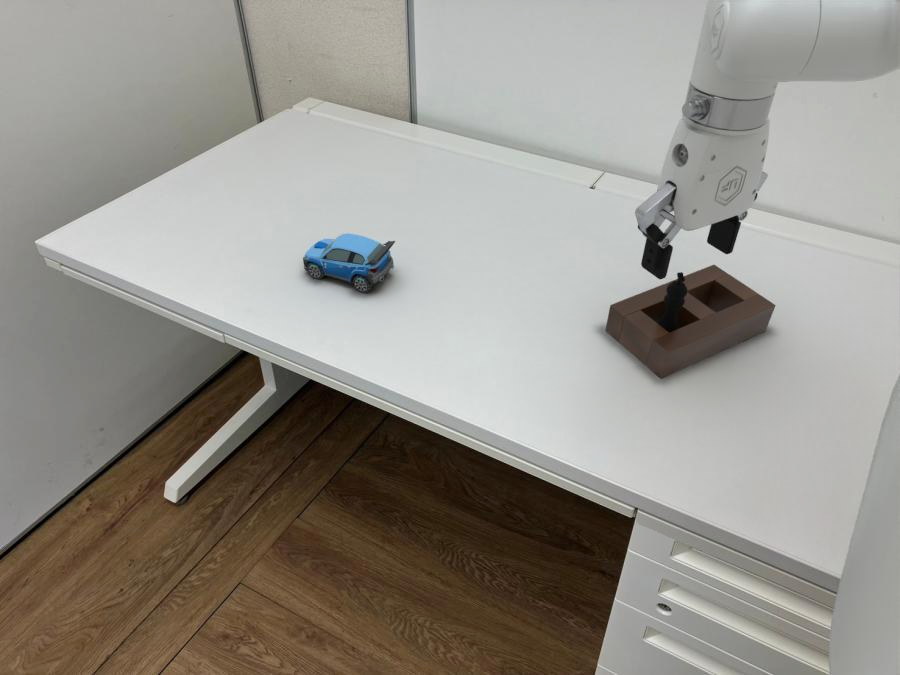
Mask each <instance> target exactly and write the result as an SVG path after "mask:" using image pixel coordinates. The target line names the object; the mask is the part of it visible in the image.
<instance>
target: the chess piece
mask: <svg viewBox="0 0 900 675" xmlns="http://www.w3.org/2000/svg"><path fill="white" fill-rule="evenodd" d="M676 276H677V279H678V281H673V280H672V281H673V282H672V283H670V284H669V285H668V286H667V289H666V291H667V294H666V295H665V297H664V303H665V306H666V310H665V313H664V315H663V316H662V318H661V319H659V320H658V321H657V324H659V325H660V326H661V327H662V328H664V329H665V330H666V331H667V332H669V333H670V332H672V331H675V330H677V329H679V327H678V323H677V319H676V316H677V312H678V310H679V309H680V308H681V307H682V306H683V305H684V303H685V299H684V297H685V296H686V295H687V287H686V286H685V284H684V283H683V282H684V281H685V278H684V276H685V275H684V272H682V271H681V272H677V273H676ZM681 281H682V282H681Z"/></svg>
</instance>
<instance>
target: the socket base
mask: <svg viewBox="0 0 900 675" xmlns="http://www.w3.org/2000/svg"><path fill="white" fill-rule="evenodd" d="M683 276H684V278H685V281H684V282H683V283H684V284H685V286H686V287H687V295H686V296H685V297H684V299H685V303H684V305H683V306H682V307H681V308H680V309H679V310H678V312H677V316H676V319H677V323H678V327H679V329H677V330H675V331H672V332H670V333H669V332H667V331H666V330H665V329H664V328H662V327H661V326H660V325H659V324H657V321H658V320H659V319H661V318H662V316H663V315H664V313H665V310H666V306H665V303H664V297H665V295H666V294H667V291H666V289H667V286H668V285H669V284H670V283H672V282H673V281H678V278H676V279H673V280H671V281H668V282H666V283H663V284H660V285H657V286H655V287H652V288H650V289H648V290H645V291H643V292H640V293H638V294H635V295H632V296H630V297H627V298H625V299H622V300H619V301H617V302H614V303H612V304H610V305H609V311H608V315H607V320H606V325H605V332H606V333H607V334H609V335H610V336H611V337H612V338H613V339H614V340H616V341H617V343H619V344H620V345H621V346H623V347H624V348H625V350H627V351H628V352H629V353H631V354H632V355H633V356H634V357H635V358H636V359H637V360H639V361H640V362H641V363H642V364H644V366H646V367H647V369H649V370H650V371H652V372H653V373H654V375H656V376H657V377H658V378H660V379H661V380H662V379H665V378H666V377H668V376H671V375H673V374H674V373H677V372H679V371H682V370H684V369H686V368H688V367H691V366H692V365H694V364H697V363H699V362H701V361H703V360H705V359H708V358H710V357H712V356H714V355H716V354H718V353H721V352H724V351H725V350H727V349H729V348H731V347H734V346H735V345H738V344H741V343H742V342H744V341H747V340H749V339H750V338H751V339H752V338H754V337H756V336H757V335H759V334H762V333H764V332H766V331H767V328H768V326H769V324H770V321H771V319H772V316H773V314H774V311H775V308H776V304H775V303H773V302H772V301H770V300H769V299H767V298H766V297H764V296H762V294H759V293H758V292H756V291H755V290H754V289H753V288H751V287H749V286H747V285H746V284H745V283H743V282H741V281H740V280H739V279H737V278H736V277H734V276H732V275H731V274H729V273H728V272H726V271H725V270H723V269H722V268H721V267H718V266H717V265H716V264H712V265H709V266H706V267H704V268H701V269H699V270H696V271H693V272H691V273H688V274H686V275H683ZM681 282H682V281H681Z"/></svg>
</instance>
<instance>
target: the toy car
mask: <svg viewBox="0 0 900 675" xmlns="http://www.w3.org/2000/svg"><path fill="white" fill-rule="evenodd" d="M395 243H396V240H388V241H387V242H385V243H380V241H379V242H378V241H377V240H375V239H373V238H370V237H367V236H364V235H360V234H355V233H349V232H348V233H347V232H346V233H342V234H340V235H337V237H335V238H323V239H320V240H319V241H317V242H315V243H314V244H312V245H311V247H309V249H308V250H306V252H305V253H304V256H303V257H302V262H303V269H304V270H305V271H307V272H308V274H309V275H310V277H312V278H314V279H317V280H320V279H322V278H323V277H327V278H331V279H333V280H337V281H341V282H344V283H346V284H347V283H348V284H353V286H354V287H355V289H356V290H358V291H359V292H361V293H368V292H370V290H371V289H372V287H374V286H375V285H377V284H379V282H383V281H384V279H385V278H384V277H385V276H386V275H387V274H388V272H390V270H392V269H393V270H394V267H395V264H394V258H393V257H392V255H391V251H390V249H391V248H392V247H393V246H394V244H395Z"/></svg>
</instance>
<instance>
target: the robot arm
mask: <svg viewBox="0 0 900 675" xmlns="http://www.w3.org/2000/svg"><path fill="white" fill-rule="evenodd" d="M704 10H705V11H704V15H703V19H702V25H701V28H700V33H699V37H698V43H697V47H696V53H695V57H694V61H693V65H692V70H691V75H690V79H689V83H688V87H687V90H686V91H687V92H686V96H685V101H684V104H683V105H682V108H681V113H682V114H681V117H682V118H681V119H679V120H678V123H677V125H676V127H675V130H674V132H673V135H672V137H671V141H670V144H669V145H668V149H667V151H666V154H665V157H664V158H665V159H664V162H663V165H662V168H661V172H660V176H659V180H658V184H657V188H656V191H655V192H654V193H653V194H652V195H651V196H649V197H648V198H647V199H646V200H645V201H643V202H642V203H641V204H639V206H637V207H636V209H635V211H634V216H635V218H636V222H637V228H638V230H639V231H640V232H641V234H642V236H643V237H645V238H646V239H645V242H644V248H643V251H642V252H643V253H642V258H641V262H640V265H641V267H642V268H643V269H644V270H646V271H647V272H648V273H649V274H651V275H652V276H654V277H655V278H656V279H658V280H663V279H665V278H666V277H667V275H668V270H669V266H670V261H671V258H672V254H673V250H674V246H673V245H671V243H672V241H673V240H674V238H675V237H676V236H677V235H678V234H679V232H680V231H681V230H683V231H685V232H690V231H691V232H692V231H695V230H699V229H701V228H702V229H703V228H705V227H708V226H710V227H709V230H708V235H707V239H706V242H707V244H709V245H710V246H712V247H713V248H715V249H716V250H718V251H720V252H721V253H723V254H725V255H729V254H732V253H733V252H734V248H735V244H736V242H737V237H738V234H739V231H740V229H741V225H742V221H743V220H745V219H746V218H747V217H748V215H749V211H748V210H750V208H752V206H753V204H754V202H755V201H756V200H757V198H758V192H759V191H760V190H761V188H762V187H763V185H764V183H765V182H766V181H767V179H768V176H769V174H768V173H767V172H765V171H763V168H764V165H765V160H766V156H767V150H768V144H769V135H770V122H771V121H770V118H769V115H770V111H771V107H772V105H773V101H774V98H775V94H776V91H777V87H778V84H779V83H788V82H789V83H790V82H837V83H839V82H845V83H846V82H847V83H848V82H849V83H850V82H863V81H869V80H873V79H877V78H880V77H883V76H886V75H889V74H891V73H893V72H895V71H897V70H899V69H900V0H706V6H705V9H704ZM665 220H666V221H668V222H670V224H669V225H668V227H667V228H666V229H665V231H664V232H663V231H662V230H661V226H662V225H663V223H664V222H665ZM885 409H886V410H885V413H884V415H883V419H882V422H881V425H880V430H879V434H878V436H877V441H876V444H875V448H874V452H873V455H872V458H871V463H870V467H869V471H868V474H867V478H866V482H865V486H864V490H863V492H862V497H861V501H860V505H859V509H858V512H857V515H856V519H855V523H854V527H853V530H852V534H851V538H850V542H849V546H848V548H847V553H846V557H845V561H844V564H843V568H842V572H841V576H840V579H839V583H838V588H837V592H836V595H835V596H836V597H835V600H834V605H833V611H832V617H831V623H830V630H829V631H830V632H829V641H828V642H829V645H828V670H829V674H828V675H900V373H899V374H898V377H897V379H896V381H895V384H894V386H893V388H892V391H891V394H890V397H889V401H888V403H887V406H886V408H885Z"/></svg>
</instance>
